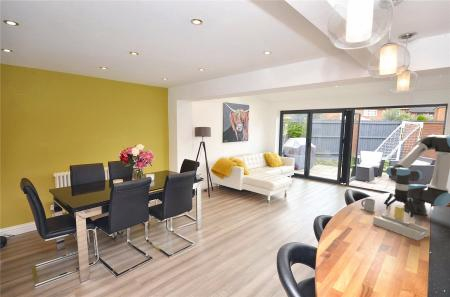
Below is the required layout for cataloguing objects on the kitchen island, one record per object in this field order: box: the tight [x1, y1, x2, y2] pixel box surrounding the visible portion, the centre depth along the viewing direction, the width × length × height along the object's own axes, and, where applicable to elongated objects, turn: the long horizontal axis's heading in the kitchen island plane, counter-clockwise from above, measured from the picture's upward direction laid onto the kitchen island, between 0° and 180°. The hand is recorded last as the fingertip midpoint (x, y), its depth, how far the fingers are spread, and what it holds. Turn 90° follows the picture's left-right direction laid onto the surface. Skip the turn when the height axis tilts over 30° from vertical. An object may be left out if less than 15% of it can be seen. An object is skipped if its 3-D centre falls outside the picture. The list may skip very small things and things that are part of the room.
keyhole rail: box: [372, 213, 430, 241], centre depth 153 cm, size 14×27×5 cm, turn 27°
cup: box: [360, 198, 376, 213], centre depth 190 cm, size 7×10×9 cm
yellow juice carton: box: [393, 205, 405, 220], centre depth 164 cm, size 7×4×12 cm, turn 117°
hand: (398, 217), depth 164 cm, fingers open, 13 cm apart
